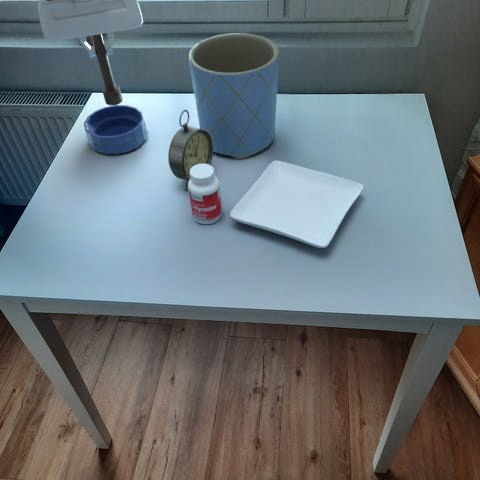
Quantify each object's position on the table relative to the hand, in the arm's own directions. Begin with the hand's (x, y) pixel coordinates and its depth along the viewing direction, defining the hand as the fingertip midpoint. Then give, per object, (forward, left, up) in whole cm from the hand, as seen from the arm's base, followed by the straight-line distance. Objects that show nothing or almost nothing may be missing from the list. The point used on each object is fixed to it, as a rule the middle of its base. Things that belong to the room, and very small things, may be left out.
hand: (101, 55), depth 101 cm
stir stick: (0, 0, -10) cm, 10 cm away
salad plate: (+31, -40, -20) cm, 54 cm away
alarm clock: (+13, -22, -20) cm, 32 cm away
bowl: (-1, 0, -20) cm, 20 cm away
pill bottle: (+13, -35, -20) cm, 42 cm away
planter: (+27, -10, -20) cm, 35 cm away
